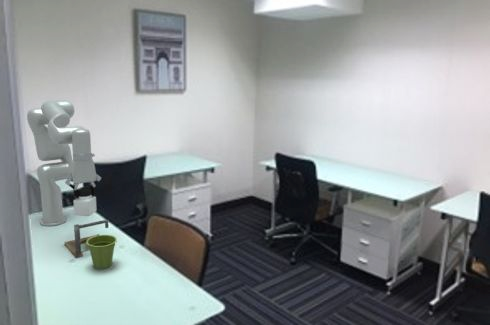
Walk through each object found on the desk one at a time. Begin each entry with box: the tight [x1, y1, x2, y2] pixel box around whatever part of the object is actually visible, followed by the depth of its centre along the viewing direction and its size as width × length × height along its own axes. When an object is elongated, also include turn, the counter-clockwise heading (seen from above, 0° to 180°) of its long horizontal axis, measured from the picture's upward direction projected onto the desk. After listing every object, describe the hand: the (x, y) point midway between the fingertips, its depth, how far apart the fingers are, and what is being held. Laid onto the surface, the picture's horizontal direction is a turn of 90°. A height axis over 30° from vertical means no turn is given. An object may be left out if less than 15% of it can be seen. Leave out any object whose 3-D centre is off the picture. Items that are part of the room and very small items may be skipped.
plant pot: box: [86, 234, 118, 270], centre depth 167 cm, size 12×12×11 cm
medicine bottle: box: [73, 186, 97, 217], centre depth 180 cm, size 7×7×12 cm
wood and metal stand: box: [63, 219, 109, 259], centre depth 183 cm, size 16×16×14 cm
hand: (84, 196), depth 179 cm, fingers closed on medicine bottle, 6 cm apart
